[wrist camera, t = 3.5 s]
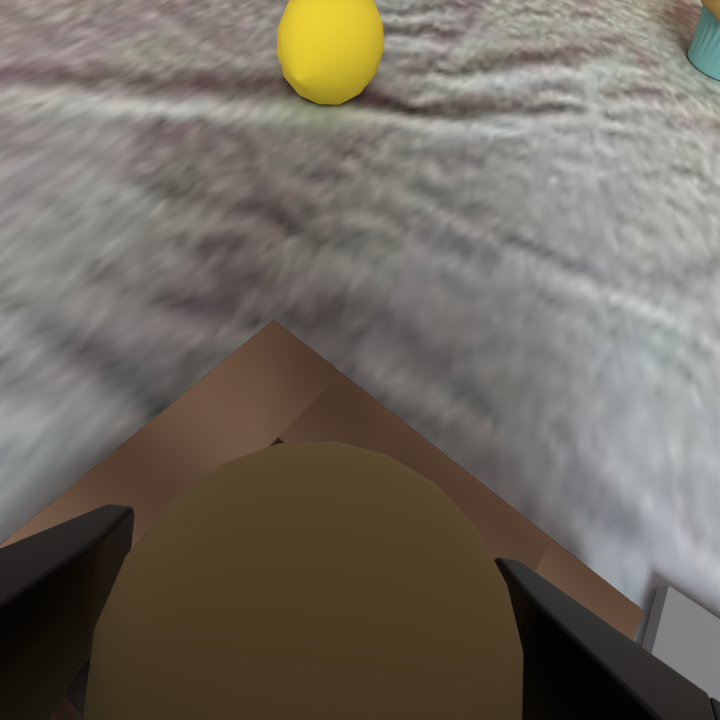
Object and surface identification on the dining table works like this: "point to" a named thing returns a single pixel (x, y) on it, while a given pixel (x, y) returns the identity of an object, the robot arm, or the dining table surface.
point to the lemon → (330, 47)
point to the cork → (308, 600)
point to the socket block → (298, 425)
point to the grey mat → (685, 639)
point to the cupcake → (707, 40)
